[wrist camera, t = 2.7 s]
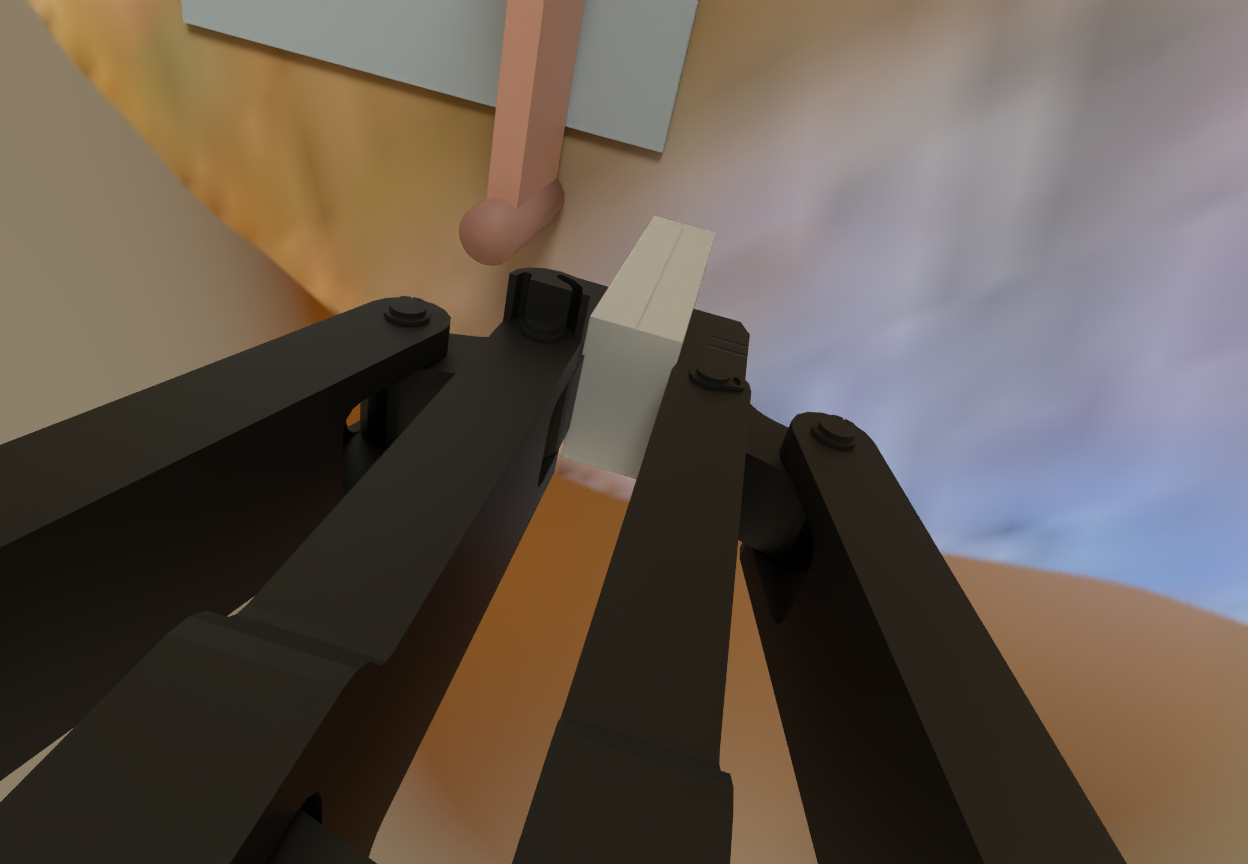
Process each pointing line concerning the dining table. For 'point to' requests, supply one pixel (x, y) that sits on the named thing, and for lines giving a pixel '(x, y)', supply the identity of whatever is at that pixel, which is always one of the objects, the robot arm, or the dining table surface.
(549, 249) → the dining table surface
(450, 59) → the mat
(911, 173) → the dining table surface
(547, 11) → the fence panel
